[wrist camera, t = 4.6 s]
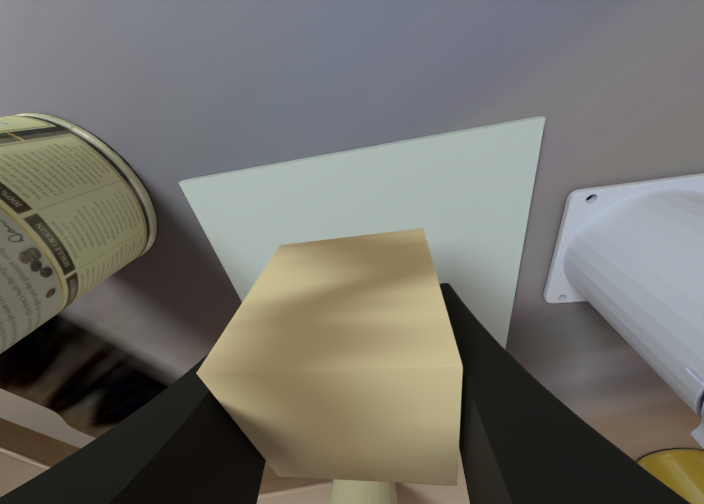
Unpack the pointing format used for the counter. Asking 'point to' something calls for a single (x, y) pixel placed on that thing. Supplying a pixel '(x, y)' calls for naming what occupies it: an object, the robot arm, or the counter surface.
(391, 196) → the pale blue flat sheet
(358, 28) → the counter surface
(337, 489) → the reusable coffee cup
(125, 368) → the counter surface
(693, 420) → the counter surface
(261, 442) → the maple block
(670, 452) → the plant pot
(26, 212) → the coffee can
